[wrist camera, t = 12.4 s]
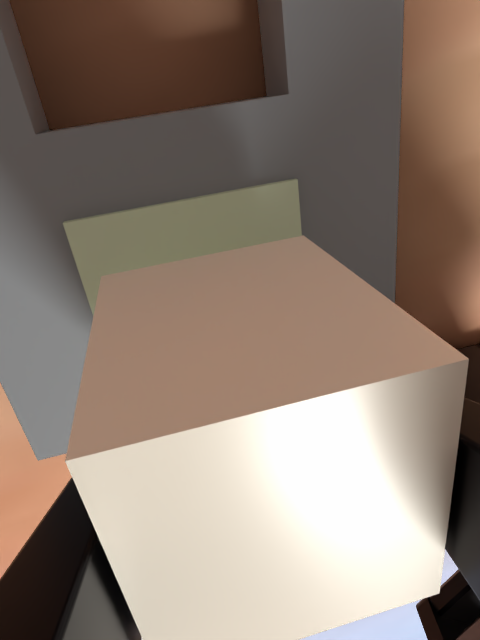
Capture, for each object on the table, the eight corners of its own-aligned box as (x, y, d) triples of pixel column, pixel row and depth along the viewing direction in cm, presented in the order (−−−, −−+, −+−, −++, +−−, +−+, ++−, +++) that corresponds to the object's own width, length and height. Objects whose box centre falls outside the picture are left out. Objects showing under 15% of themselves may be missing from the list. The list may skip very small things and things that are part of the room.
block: (315, 395, 12) (439, 592, 7) (150, 437, 11) (162, 684, 6) (303, 235, 10) (468, 359, 5) (100, 276, 9) (64, 461, 4)
